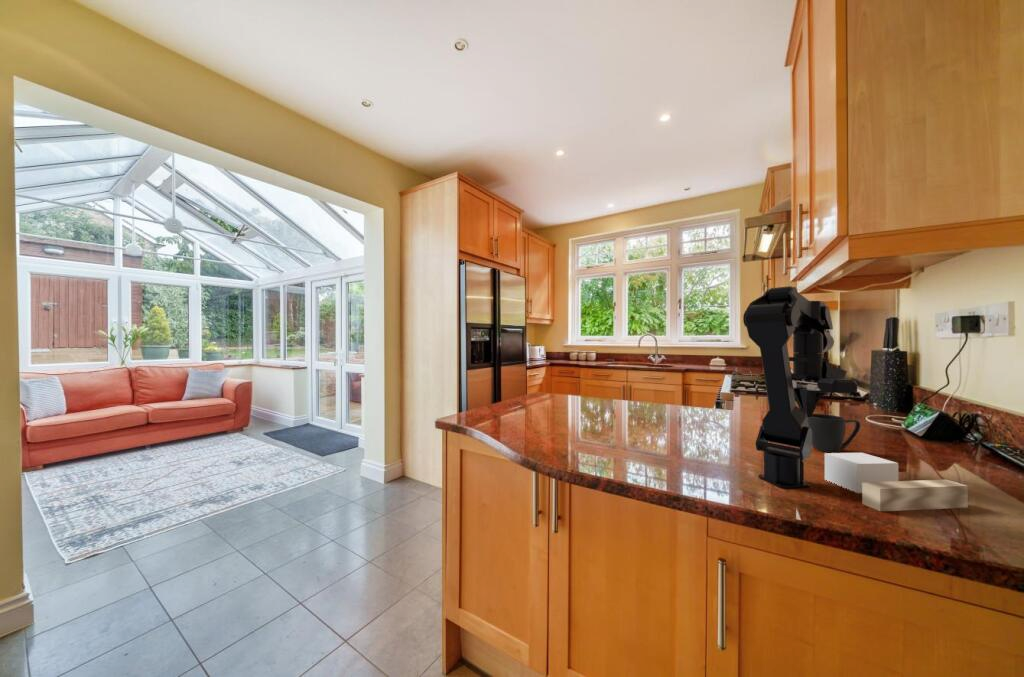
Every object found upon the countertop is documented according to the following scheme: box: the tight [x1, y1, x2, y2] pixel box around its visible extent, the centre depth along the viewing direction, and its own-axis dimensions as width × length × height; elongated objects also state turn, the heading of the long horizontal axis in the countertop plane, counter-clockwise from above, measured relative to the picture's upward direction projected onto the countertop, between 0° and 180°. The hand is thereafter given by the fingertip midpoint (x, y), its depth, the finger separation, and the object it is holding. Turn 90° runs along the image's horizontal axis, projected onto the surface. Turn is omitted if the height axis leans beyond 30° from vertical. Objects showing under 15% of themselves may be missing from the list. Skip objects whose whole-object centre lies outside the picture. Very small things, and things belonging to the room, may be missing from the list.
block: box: [824, 452, 899, 494], centre depth 76 cm, size 9×7×6 cm
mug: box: [807, 413, 861, 453], centre depth 101 cm, size 8×12×10 cm
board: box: [861, 479, 969, 512], centre depth 67 cm, size 18×3×4 cm, turn 96°
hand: (807, 416), depth 88 cm, fingers closed
